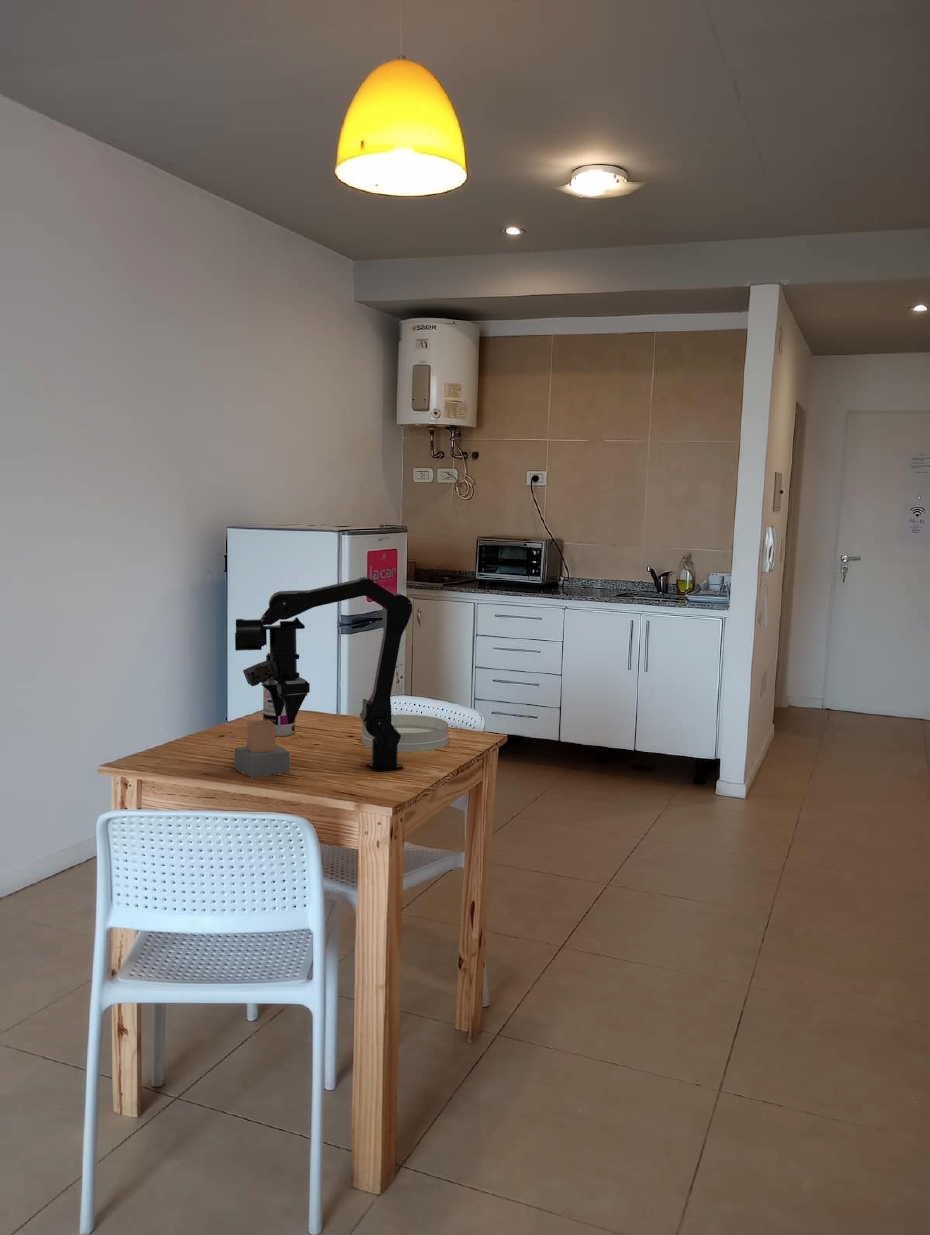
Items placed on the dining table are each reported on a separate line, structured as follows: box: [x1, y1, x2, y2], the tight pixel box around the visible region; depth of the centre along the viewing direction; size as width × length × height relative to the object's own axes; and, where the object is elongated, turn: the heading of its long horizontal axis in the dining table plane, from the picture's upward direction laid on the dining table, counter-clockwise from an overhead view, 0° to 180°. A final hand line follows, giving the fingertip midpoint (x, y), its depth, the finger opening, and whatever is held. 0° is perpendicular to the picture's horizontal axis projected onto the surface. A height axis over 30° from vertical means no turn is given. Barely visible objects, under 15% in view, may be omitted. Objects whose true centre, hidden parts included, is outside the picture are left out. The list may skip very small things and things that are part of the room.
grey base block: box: [234, 744, 290, 778], centre depth 217 cm, size 9×9×5 cm
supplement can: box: [262, 683, 296, 737], centre depth 253 cm, size 8×8×15 cm
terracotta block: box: [246, 719, 276, 753], centre depth 216 cm, size 5×5×6 cm
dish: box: [360, 714, 450, 753], centre depth 248 cm, size 22×22×5 cm
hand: (284, 719), depth 216 cm, fingers open, 9 cm apart
